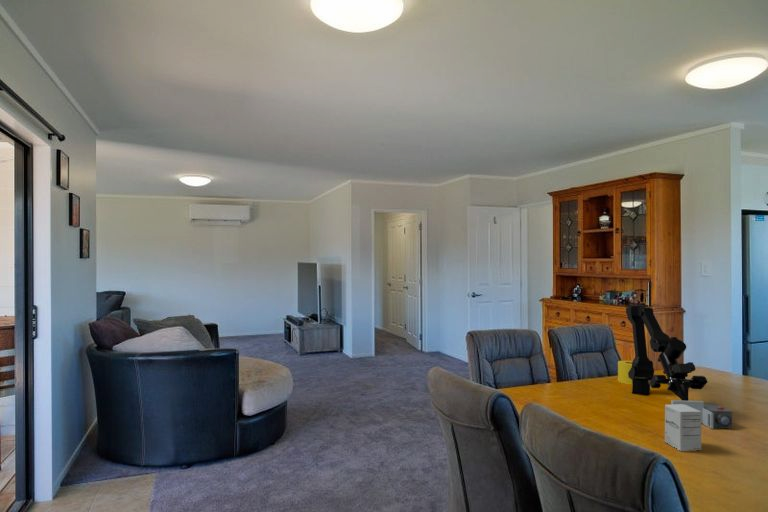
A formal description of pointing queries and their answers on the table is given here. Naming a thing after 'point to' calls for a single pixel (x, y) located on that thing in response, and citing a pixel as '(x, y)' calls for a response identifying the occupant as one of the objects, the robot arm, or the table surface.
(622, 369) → the yellow paper roll
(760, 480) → the table surface
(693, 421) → the supplement box
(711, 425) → the side door
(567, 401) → the table surface
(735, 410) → the table surface
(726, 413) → the camera body
